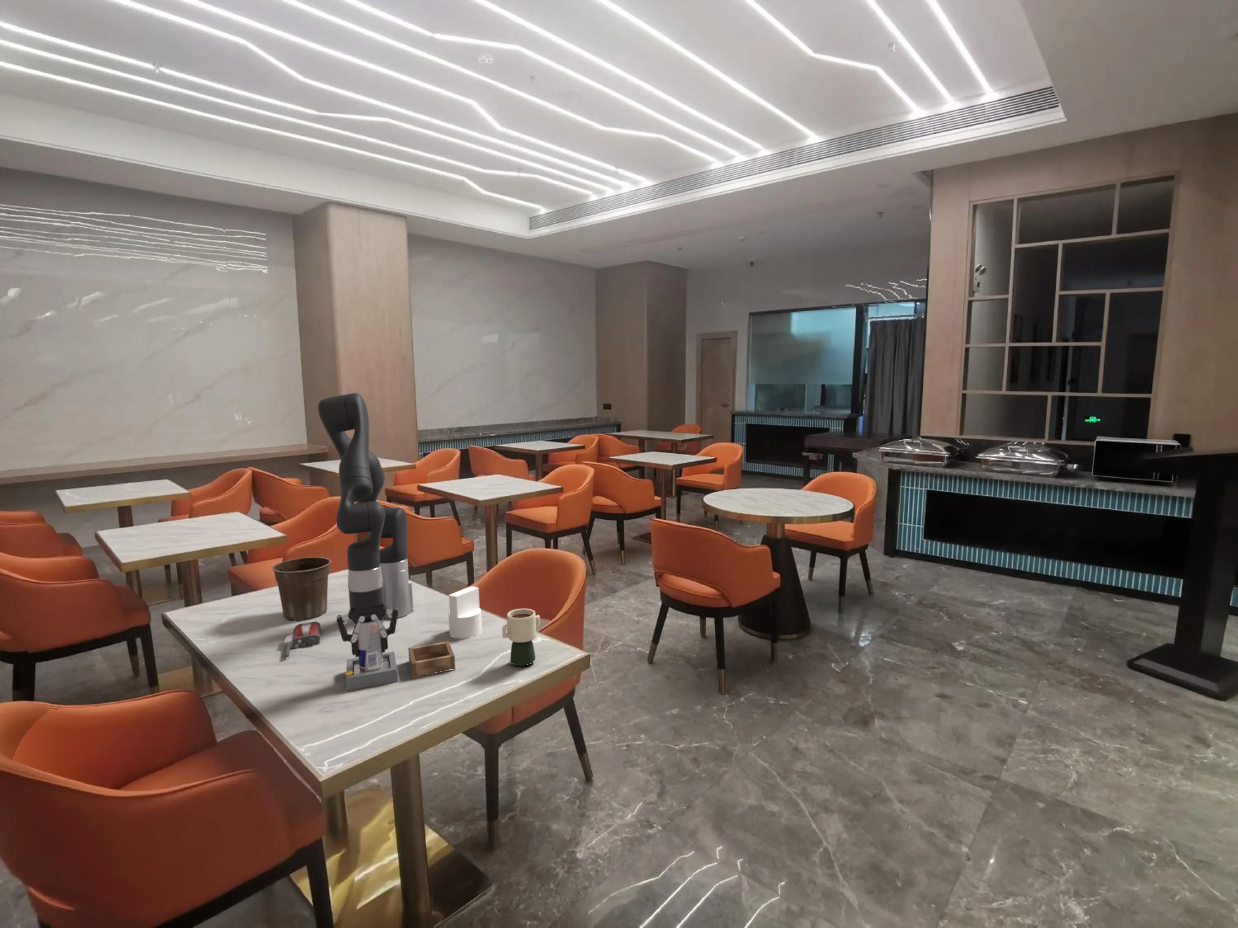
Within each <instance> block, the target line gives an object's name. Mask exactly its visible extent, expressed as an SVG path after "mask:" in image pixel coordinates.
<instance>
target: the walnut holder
mask: <svg viewBox="0 0 1238 928" xmlns="http://www.w3.org/2000/svg"><path fill="white" fill-rule="evenodd" d="M407 650H408V663H409V666H410V667H409V668H410V671H411V677H412V678H413V677H414V678H418V677H417V676H419V677H422V676H421V675H424V676H427V675H426V674H430V675H433V674H432V673H435V672H440V671H445V670H449V669H455V670H456V663H455V662H456V658H455V653H454V651H453V649H452V646H451V644H450V642H449V641H442V642H436V643H430V644H425V645H418V646H411V647H408V648H407ZM445 672H446V671H445ZM440 673H441V672H440ZM435 674H436V673H435Z"/></svg>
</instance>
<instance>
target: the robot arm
mask: <svg viewBox="0 0 1238 928" xmlns="http://www.w3.org/2000/svg"><path fill="white" fill-rule="evenodd" d="M317 405H318V406H317V410H318V415H319V418H320V421H321V423H322V425H323V426H324V427H323V428H324V429H325V431H326V434H327V435H328V436H329V438H330V440H331V442H332V444H333V446H334V447H335V450H336V452H337V454H338V456H339V458H340V462H339V465H338V466H339V467H338V476H339V484H340V499H339V505H338V509H337V514H336V517H335V520H336V521H335V522H336V527H337V529H338V530H339V531H340V532H341V533H343V534H346V535H351V534H352V535H353V534H362V533H368V535H367V536H366V537H365V538H364V539H361V540H358V541H355V542H352V543H351V544H349V545H348V546H347V551H346V553H347V554H346V555H347V567H348V572H347V573H348V575H347V587H348V598H349V599H348V600H349V611H348V613H345V614H338V615H337V616H336V624H337V627H338V628H337V629H338V630H339V634H340V636H341V640H342V642H344V643H345V642H349V643H350V644H351V646H350V647H351V654H352V656H355V657H354V658H359V654H358V641H357V637H358V634H359V625H360V623H365V622H371V621H373V622H374V621H377V622H378V630H379V631H380V634H381V641H382V654H383V653H386V650H388V649H389V642H388V637H389V636H390V635H393V634H395V633H396V630H397V629H396V627H397V622H398V619H399V618H402V617H405V616H407V615H409V614H410V613H411V612H414V599H413V585H412V584H413V583H412V581H411V580H409V578H410V577H409V565H408V564H409V563H408V517H407V512H406V511H405V509H404V508H402V507H384V506H383V505H382V504H381V503H380V502H379V501H377V499H378V497H379V495H380V493H381V491H382V490H383V487H384V485H385V482H386V481H385V478H386V477H385V472H384V470H383V467H382V466H381V462H380V460H379V458H378V457H377V455H375V454H374V453H373V452H372V451H371V450H369V449H370V427H369V426H370V424H369V423H370V419H369V411H368V408H367V405H366V401H365V399H364V398H363V396H362V395H361V394H360V393H357V392H354V393H353V392H352V393H347V394H341V395H336V396H330V397H326V398H323V399H321V400H320V401H319V402H318V404H317ZM353 430H354V432H353V435H352V438H351V437H350V436H349V435H347V433H346V432H348V431H353ZM381 539H392V543H391V544H390V545H389V546H385V547H382V548H380V546H381V545H380V544H381ZM349 619H350V621H351V622H352V623H353V624H354V626H353V629H352V633H351V634H350V633H348V631H347V627H346V624H347V623H348V620H349ZM383 619H388V620H389V619H390V620H389V627H387V628H386V627H385V626H384V623H383V621H382V620H383Z"/></svg>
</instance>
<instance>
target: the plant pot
mask: <svg viewBox="0 0 1238 928" xmlns="http://www.w3.org/2000/svg"><path fill="white" fill-rule="evenodd" d="M331 563H332V560H331V559H330V558H328V557H321V556H310V557H307V556H306V557H298V558H294V559H293V558H292V559H289V560H285V561H281V562H278V563H275V564H274V565H273V566H272V567H271V569H272V571H273V572H274V577H275V582H276V583H277V587H278V592H279V596H280V597H279V598H280V602H281V608H282V615H283V618H284V619H285V620H287V621H293V620H296V621H297V622H299V621H307V620H311V619H312V620H313V619H315V618H319V617H320V616H322V615H323V614H326V613H327V611H328V585H329V584H328V583H329V575H330V566H331Z"/></svg>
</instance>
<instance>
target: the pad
mask: <svg viewBox="0 0 1238 928" xmlns="http://www.w3.org/2000/svg"><path fill="white" fill-rule="evenodd" d="M389 668H390V666H389V662H388V658H385V659H383V666H382V667H381V668H380V669H378V670H383V669H389ZM378 670H375V671H378ZM371 672H372V671H371ZM361 673H367V672H364V671H361V670H360V669H359V663H356V664H354V672H353V675H355V674H361Z"/></svg>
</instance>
